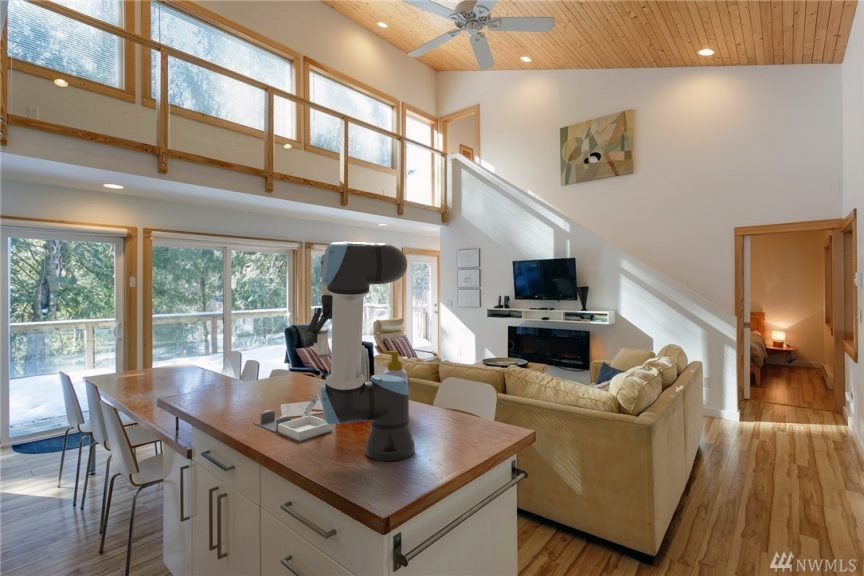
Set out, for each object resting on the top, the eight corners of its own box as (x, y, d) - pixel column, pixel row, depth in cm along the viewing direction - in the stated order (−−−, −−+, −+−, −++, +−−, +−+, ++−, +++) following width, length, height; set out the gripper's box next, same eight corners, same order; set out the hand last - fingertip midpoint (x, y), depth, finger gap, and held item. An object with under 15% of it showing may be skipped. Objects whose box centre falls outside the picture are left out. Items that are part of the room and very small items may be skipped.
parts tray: (332, 430, 151) (332, 422, 151) (299, 441, 141) (299, 432, 141) (310, 423, 160) (310, 415, 160) (277, 432, 150) (277, 424, 150)
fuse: (330, 356, 162) (330, 330, 162) (321, 358, 159) (320, 331, 158) (324, 355, 165) (323, 329, 164) (314, 357, 161) (314, 330, 161)
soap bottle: (384, 411, 174) (384, 349, 174) (406, 411, 174) (406, 349, 174) (382, 418, 165) (382, 353, 165) (406, 418, 166) (405, 353, 165)
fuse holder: (297, 426, 156) (297, 414, 156) (274, 433, 150) (274, 420, 150) (276, 418, 166) (275, 407, 166) (253, 424, 159) (253, 412, 159)
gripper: (350, 293, 177) (351, 345, 177) (297, 294, 158) (297, 352, 158) (362, 293, 172) (363, 346, 172) (309, 295, 153) (309, 354, 153)
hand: (331, 349), depth 165 cm, fingers open, 13 cm apart
